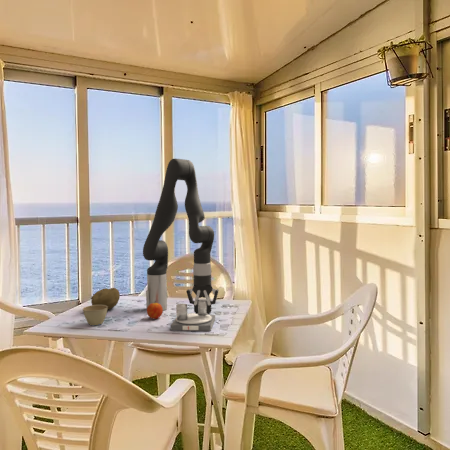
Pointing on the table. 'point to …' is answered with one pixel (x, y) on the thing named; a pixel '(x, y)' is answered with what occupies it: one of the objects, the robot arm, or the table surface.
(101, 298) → the decorative stone
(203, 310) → the cylinder
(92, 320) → the flower pot
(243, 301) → the table surface
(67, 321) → the table surface
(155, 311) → the fruit
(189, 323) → the scale
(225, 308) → the table surface
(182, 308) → the cylinder
